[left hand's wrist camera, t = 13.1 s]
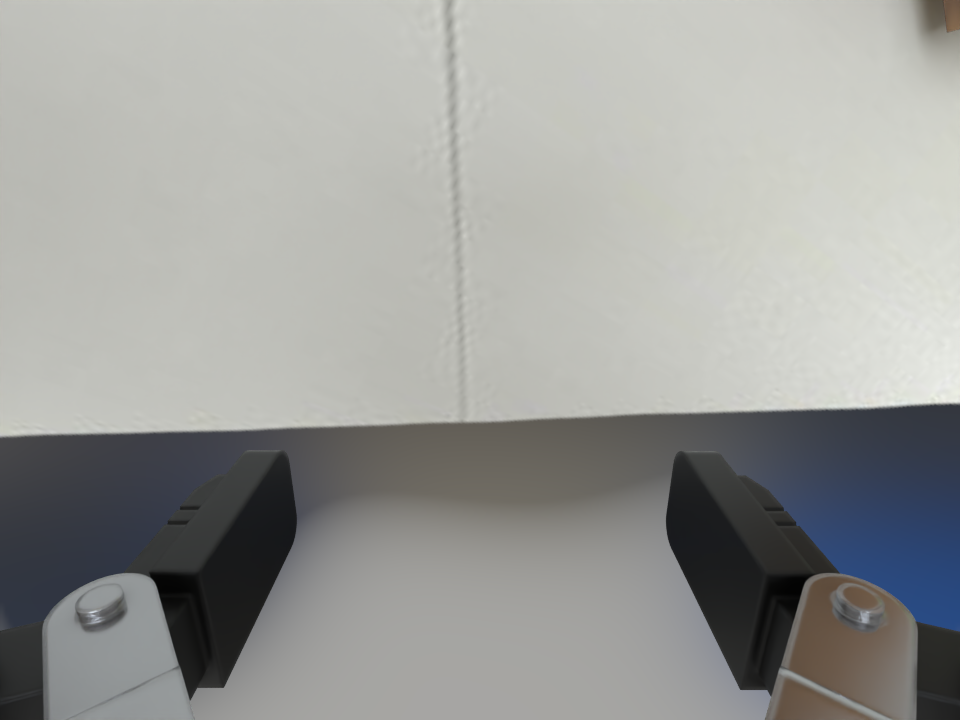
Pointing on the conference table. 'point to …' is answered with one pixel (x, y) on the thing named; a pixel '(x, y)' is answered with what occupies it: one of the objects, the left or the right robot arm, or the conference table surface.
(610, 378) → the conference table surface
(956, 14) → the bar
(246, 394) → the conference table surface
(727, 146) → the conference table surface
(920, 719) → the left robot arm
